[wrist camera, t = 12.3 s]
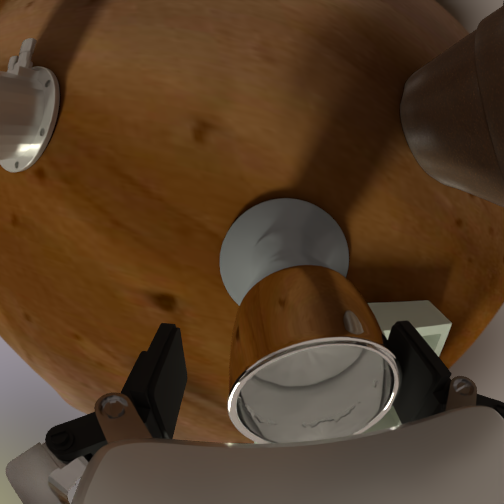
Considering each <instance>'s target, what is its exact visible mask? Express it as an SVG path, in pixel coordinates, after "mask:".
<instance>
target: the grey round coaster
mask: <svg viewBox="0 0 504 504" xmlns="http://www.w3.org/2000/svg"><path fill="white" fill-rule="evenodd" d="M282 229H294V230H298V231H301V232H304V233H306V234H307V235H309V236H310V237H312V238H313V239H314V240H315V241H316V243H317V244H318V246H319V247H320V249H321V252H322V255H323V259H324V262H325V263H327V264H328V265H330V266H331V267H333V268H334V269H336V270H337V271H338V272H340V273H341V274H342V275H343V276H344V277H345V278H346V275H347V271H348V266H349V251H348V246H347V242H346V239H345V236H344V234H343V232H342V230H341V228H340V227H339V225H338V224H337V223H336V221H335V220H334V219H333V218H332V217H331V216H330V215H329V214H328V213H326V212H325V211H324V210H322V209H321V208H319V207H318V206H316V205H314V204H312V203H309V202H307V201H304V200H300V199H295V198H276V199H270V200H267V201H264V202H261V203H259V204H256V205H254V206H253V207H251V208H249V209H248V210H246V211H245V212H244V213H243V214H242V215H240V216H239V217H238V219H237V220H236V221H235V222H234V223H233V225H232V226H231V227H230V229H229V231H228V233H227V235H226V237H225V239H224V241H223V244H222V248H221V253H220V272H221V276H222V280H223V282H224V285H225V287H226V289H227V291H228V293H229V294H230V296H231V297H232V298H233V300H234V301H235V302H236V303H237V304H238V305H239V306H240V304H241V301H242V299H243V297H244V294H245V292H246V291H247V289H248V287H249V285H250V283H251V281H252V280H253V278H252V275H251V271H250V260H251V255H252V252H253V250H254V248H255V247H256V245H257V244H258V243H259V241H260V240H261V239H262V238H264V237H265V236H266V235H268V234H270V233H272V232H274V231H277V230H282Z"/></svg>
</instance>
